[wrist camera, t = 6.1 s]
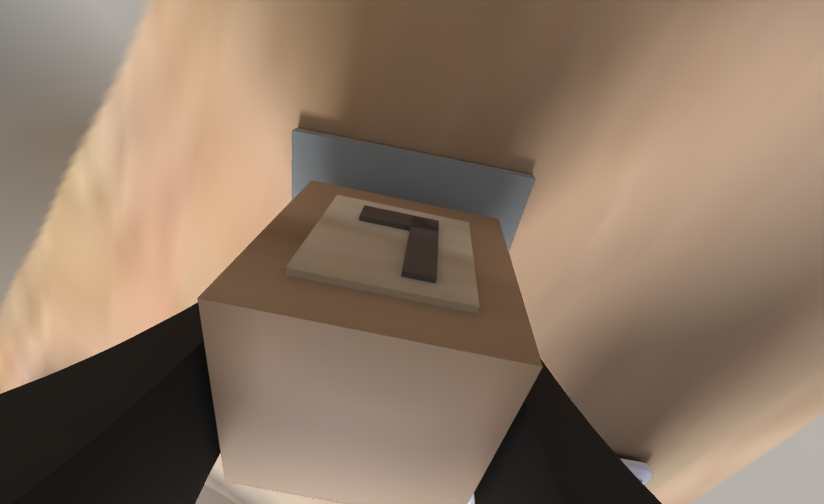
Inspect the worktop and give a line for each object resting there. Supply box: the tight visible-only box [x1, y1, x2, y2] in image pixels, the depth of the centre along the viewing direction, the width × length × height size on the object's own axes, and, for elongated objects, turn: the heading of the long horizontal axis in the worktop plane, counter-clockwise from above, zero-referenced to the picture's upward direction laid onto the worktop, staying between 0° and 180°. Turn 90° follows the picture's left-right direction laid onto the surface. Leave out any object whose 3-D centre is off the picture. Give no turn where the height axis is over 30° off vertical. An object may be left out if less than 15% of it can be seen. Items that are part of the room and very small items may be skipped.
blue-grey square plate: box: [292, 128, 535, 252], centre depth 12 cm, size 7×7×1 cm
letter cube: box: [198, 180, 543, 504], centre depth 8 cm, size 5×5×5 cm
